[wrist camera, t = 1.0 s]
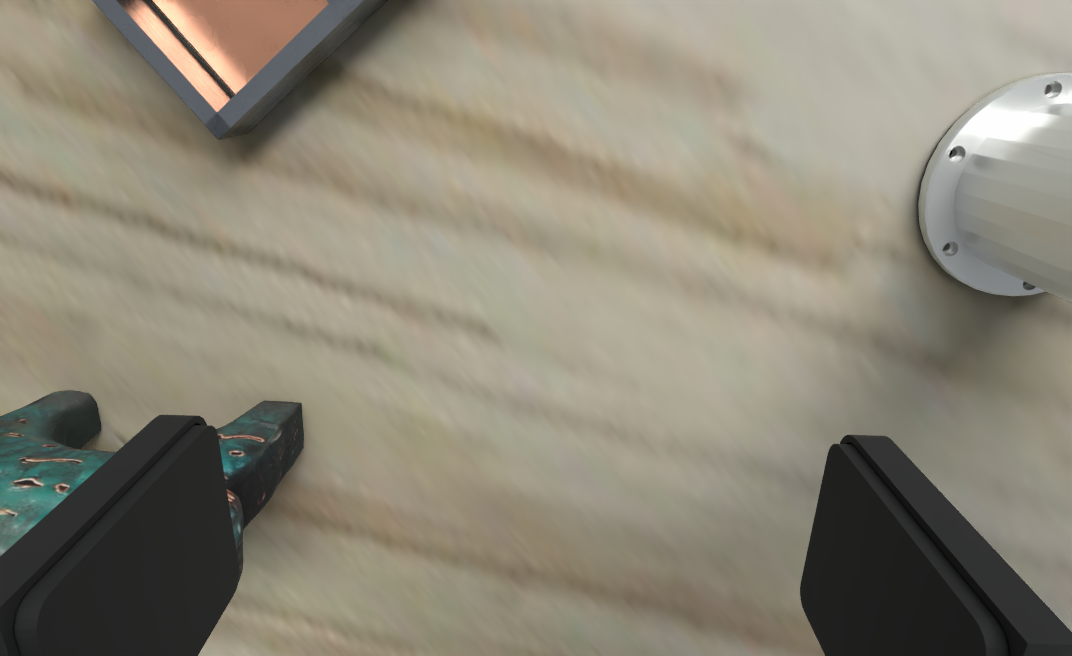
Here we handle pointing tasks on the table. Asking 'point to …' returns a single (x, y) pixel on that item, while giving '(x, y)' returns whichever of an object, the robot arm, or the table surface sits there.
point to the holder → (236, 49)
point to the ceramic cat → (72, 420)
